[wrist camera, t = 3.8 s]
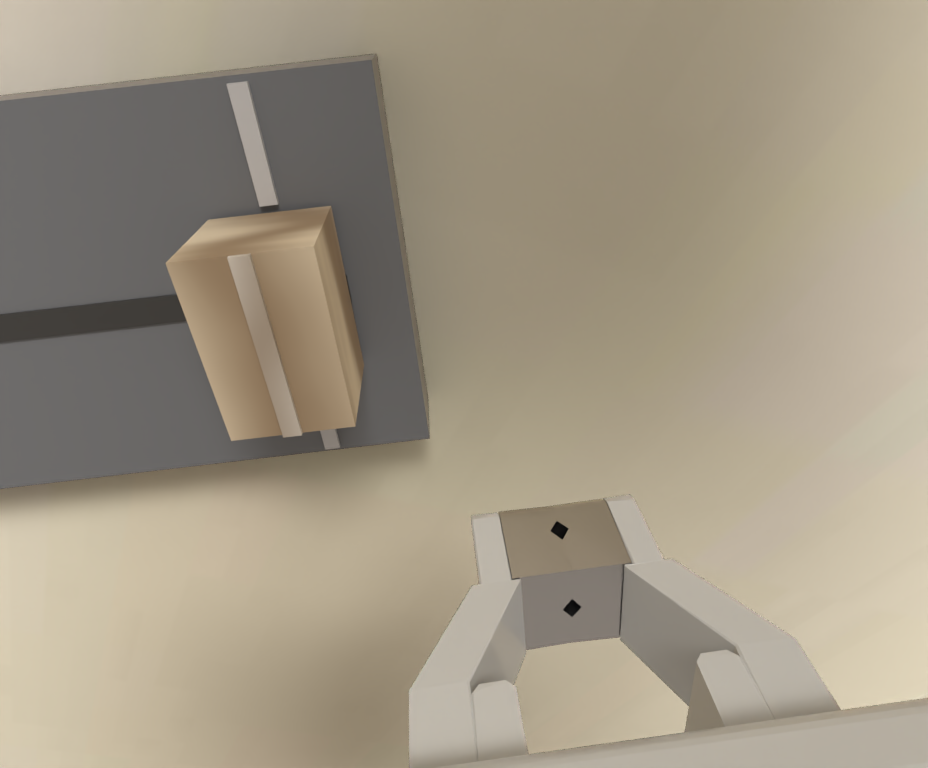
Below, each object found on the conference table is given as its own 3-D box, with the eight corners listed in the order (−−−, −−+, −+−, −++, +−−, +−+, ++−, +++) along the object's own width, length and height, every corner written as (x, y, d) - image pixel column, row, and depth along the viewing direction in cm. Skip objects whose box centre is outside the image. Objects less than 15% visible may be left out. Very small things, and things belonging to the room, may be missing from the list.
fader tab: (331, 205, 20) (313, 248, 16) (364, 364, 23) (354, 429, 19) (208, 219, 20) (163, 265, 16) (258, 376, 23) (230, 443, 19)
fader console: (376, 53, 20) (371, 60, 18) (428, 399, 28) (429, 441, 25) (-402, 139, 20) (-529, 159, 17) (-142, 465, 28) (-202, 515, 25)
